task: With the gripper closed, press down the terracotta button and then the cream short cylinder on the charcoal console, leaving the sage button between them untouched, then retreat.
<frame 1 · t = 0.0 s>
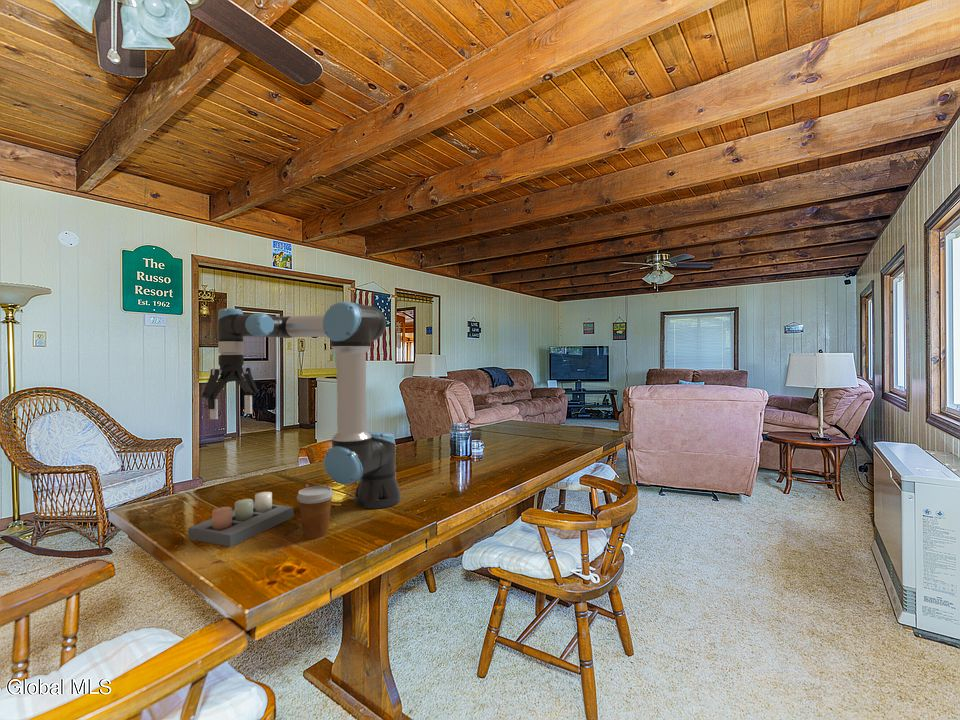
hand: (231, 416, 153), 28 cm above the table, fingers open, 13 cm apart
terracotta button: (222, 518, 121), point 5 cm above the table, slide at 0.0 cm
disposable coffee cup: (315, 534, 122), on the table
onion: (307, 509, 142), on the table
cream short cylinder: (263, 502, 134), point 5 cm above the table, slide at 0.0 cm
console: (244, 527, 127), on the table
sage button: (244, 510, 127), point 5 cm above the table, slide at 0.0 cm
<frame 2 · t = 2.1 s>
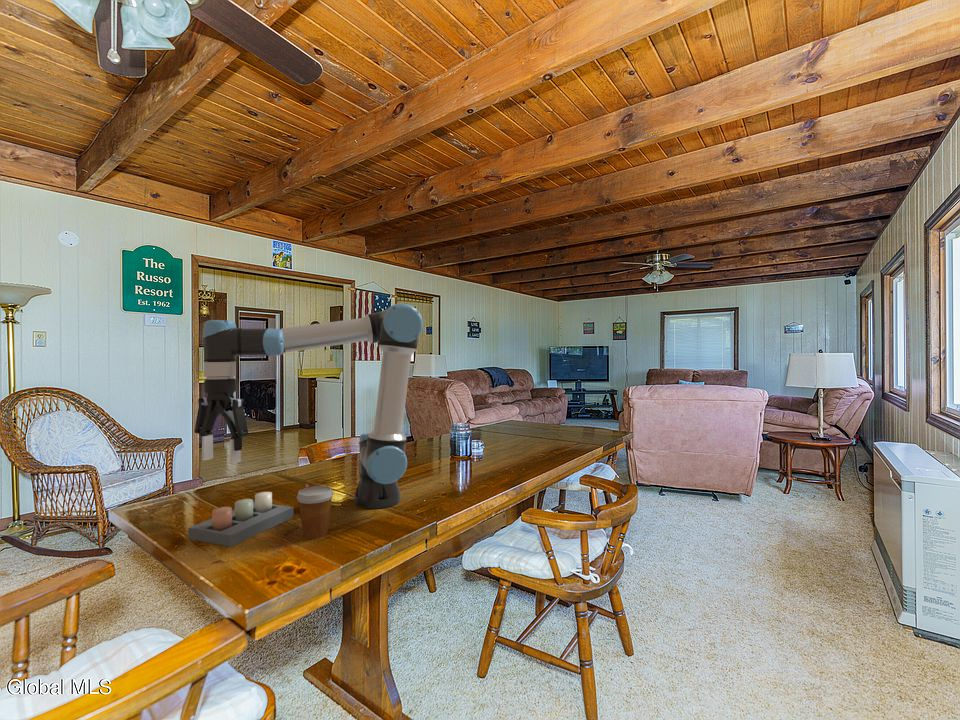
hand: (221, 461, 120), 21 cm above the table, fingers open, 9 cm apart
nothing on the table moved.
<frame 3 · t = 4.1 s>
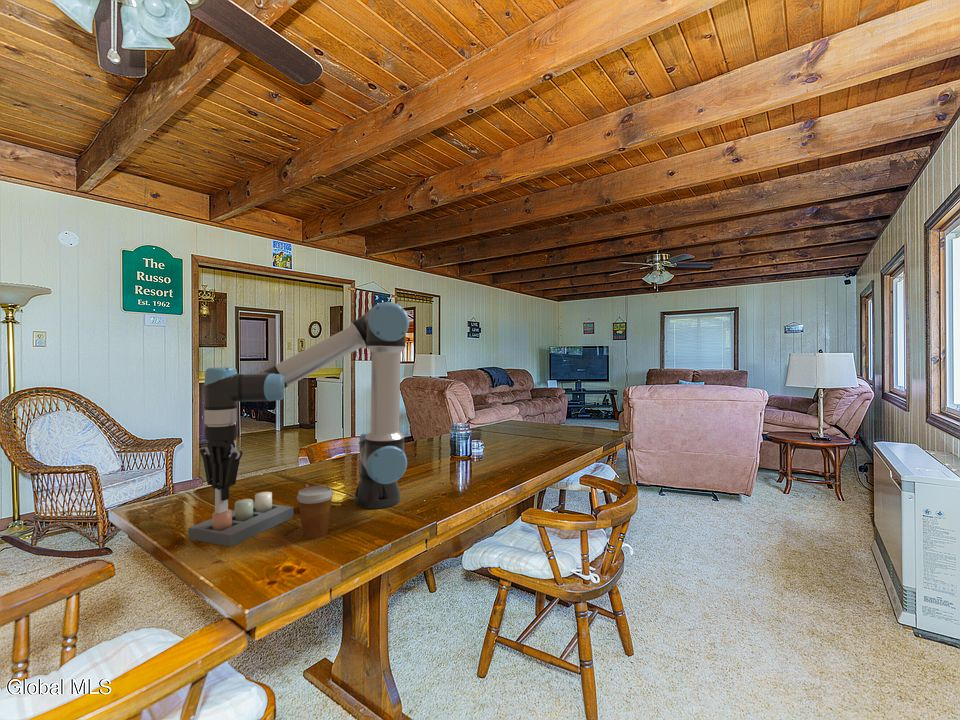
hand: (221, 511, 121), 7 cm above the table, fingers closed
terracotta button: (222, 521, 121), point 4 cm above the table, slide at 0.8 cm, touching gripper
everything else where it was.
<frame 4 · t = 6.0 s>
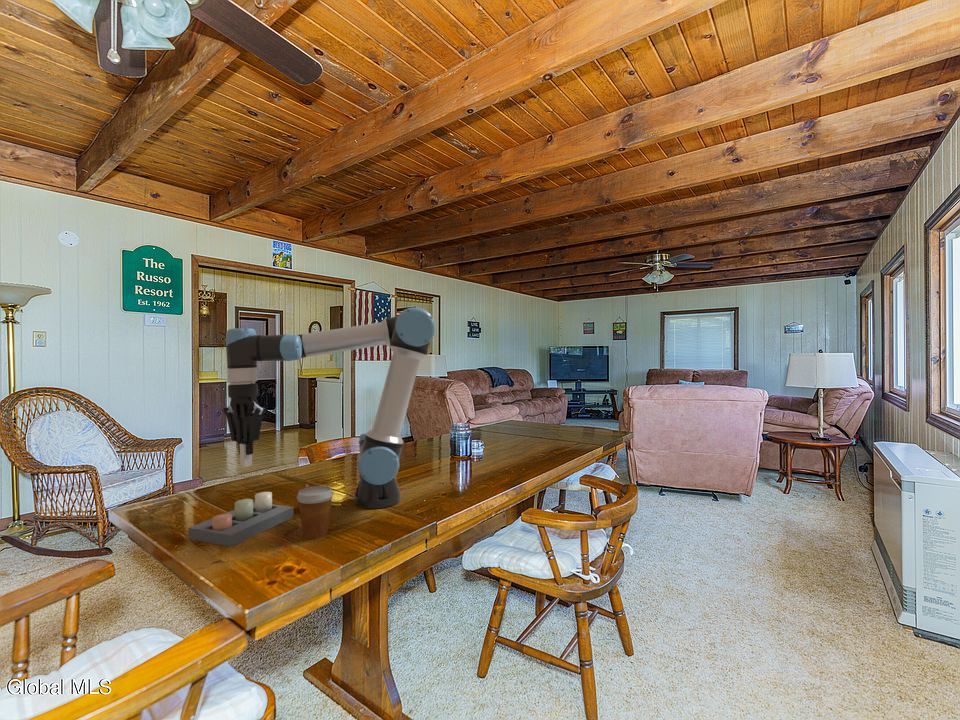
hand: (246, 465, 127), 18 cm above the table, fingers closed
terracotta button: (222, 525, 121), point 3 cm above the table, slide at 1.9 cm
everything else where it was.
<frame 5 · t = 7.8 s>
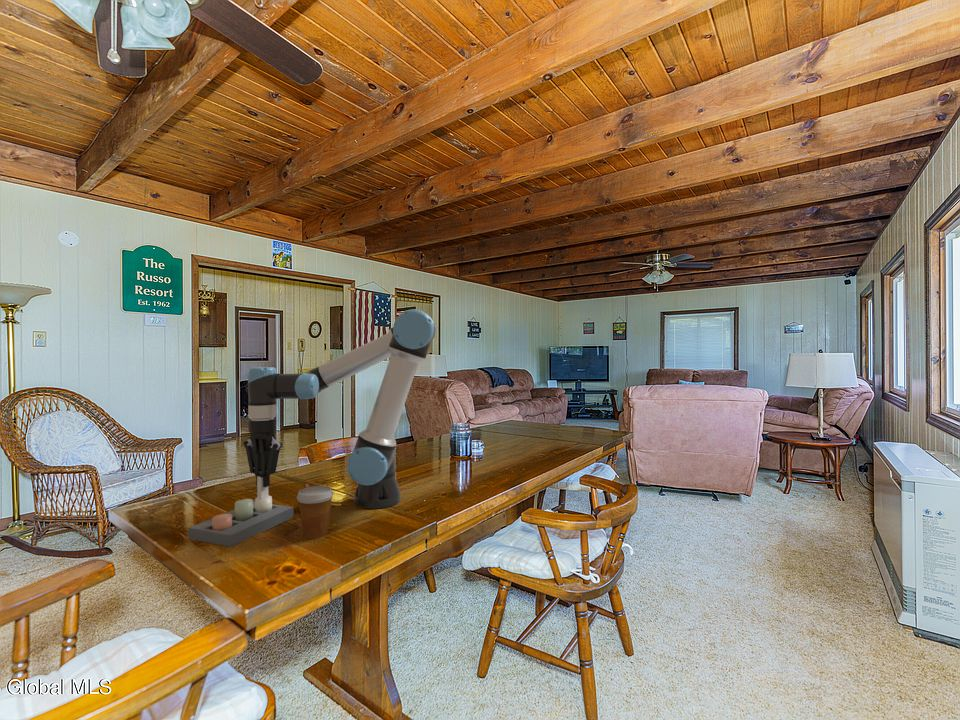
hand: (262, 497, 134), 6 cm above the table, fingers closed
cream short cylinder: (263, 506, 134), point 4 cm above the table, slide at 1.2 cm, touching gripper
everything else where it was.
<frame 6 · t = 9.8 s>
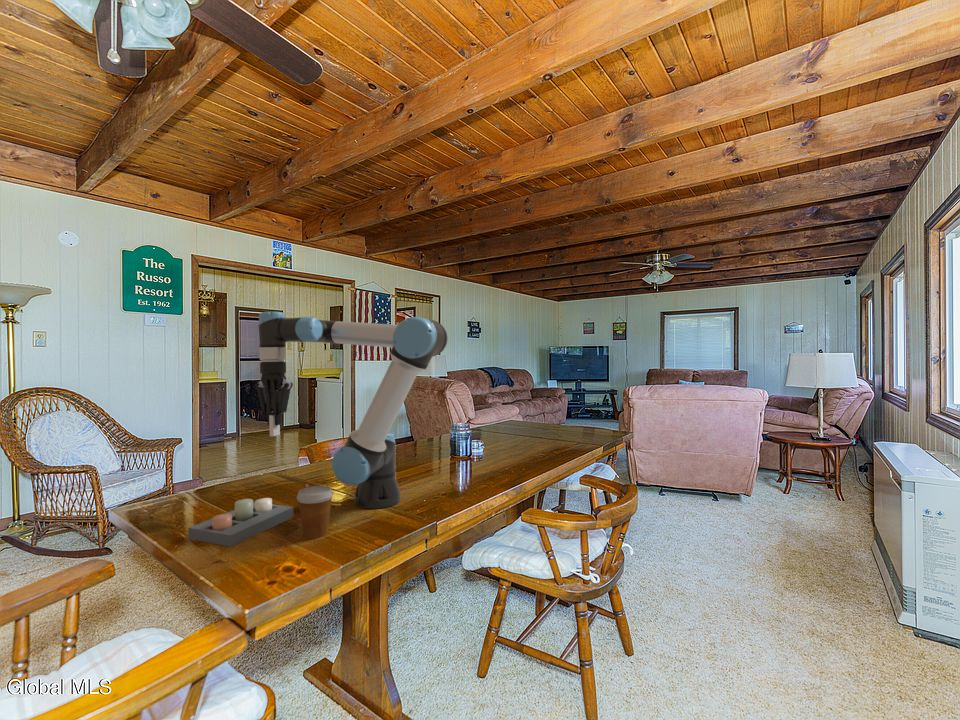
hand: (274, 435, 142), 24 cm above the table, fingers closed
cream short cylinder: (263, 508, 134), point 3 cm above the table, slide at 1.9 cm
everything else where it was.
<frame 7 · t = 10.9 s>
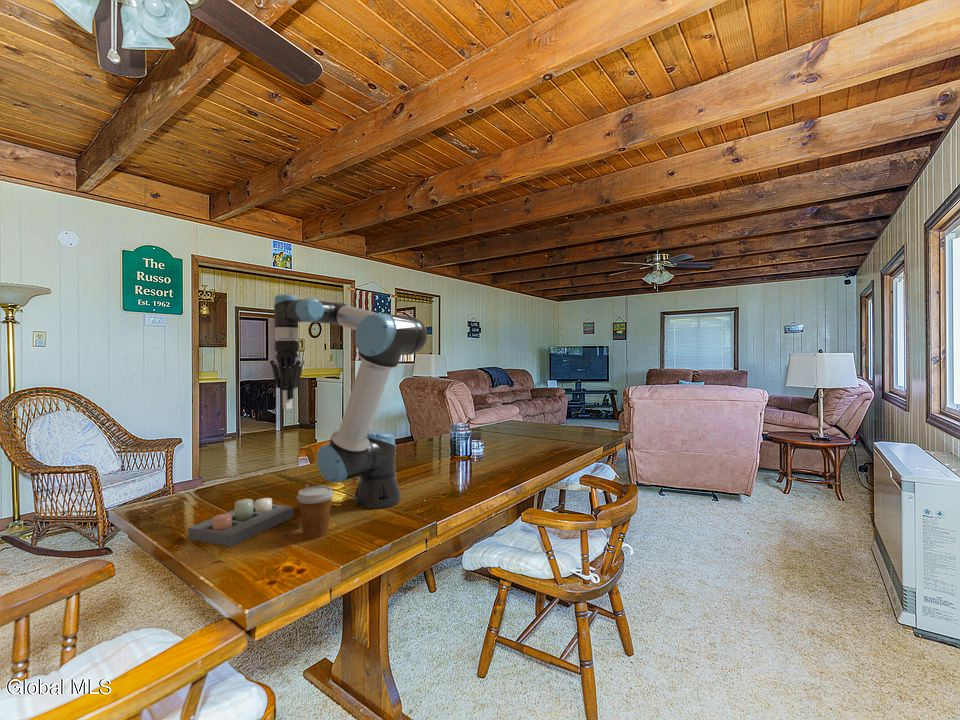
hand: (287, 408, 154), 30 cm above the table, fingers closed
nothing on the table moved.
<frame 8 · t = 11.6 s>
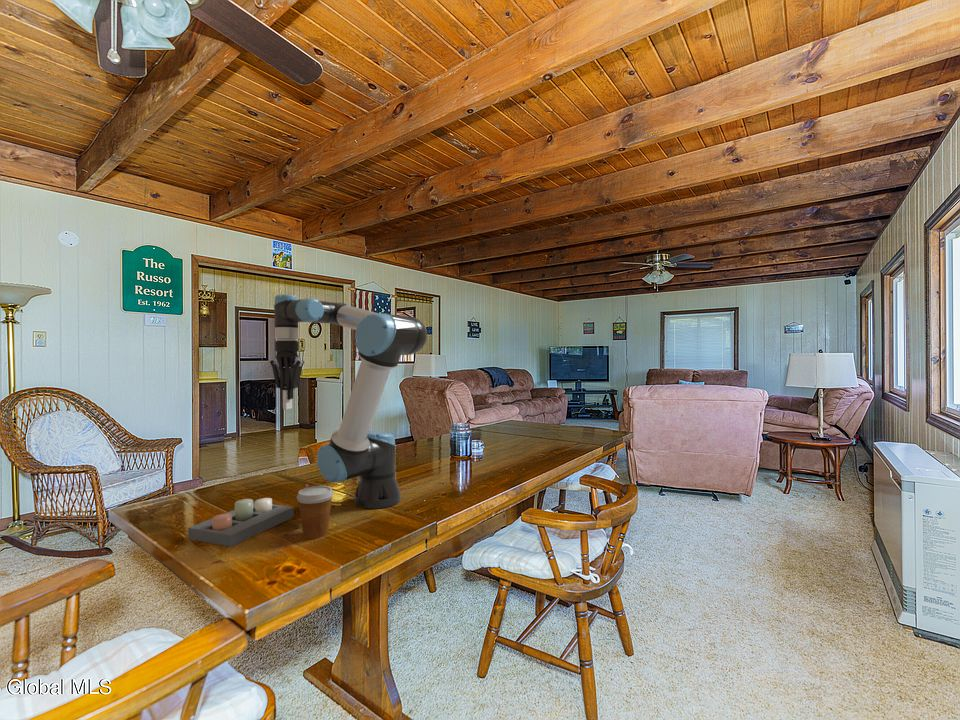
hand: (287, 408, 154), 30 cm above the table, fingers closed
nothing on the table moved.
at the end: terracotta button slide at 1.9 cm; cream short cylinder slide at 1.9 cm; sage button slide at 0.0 cm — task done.
